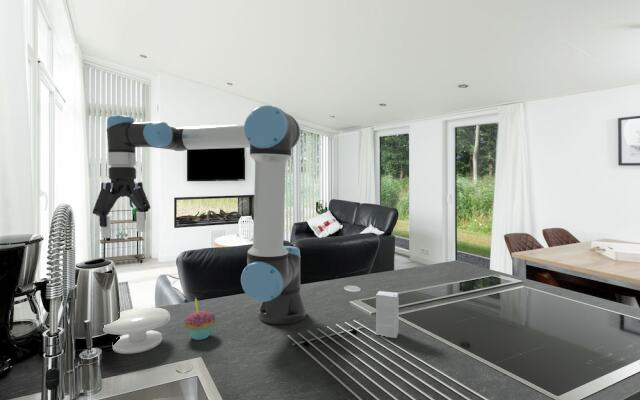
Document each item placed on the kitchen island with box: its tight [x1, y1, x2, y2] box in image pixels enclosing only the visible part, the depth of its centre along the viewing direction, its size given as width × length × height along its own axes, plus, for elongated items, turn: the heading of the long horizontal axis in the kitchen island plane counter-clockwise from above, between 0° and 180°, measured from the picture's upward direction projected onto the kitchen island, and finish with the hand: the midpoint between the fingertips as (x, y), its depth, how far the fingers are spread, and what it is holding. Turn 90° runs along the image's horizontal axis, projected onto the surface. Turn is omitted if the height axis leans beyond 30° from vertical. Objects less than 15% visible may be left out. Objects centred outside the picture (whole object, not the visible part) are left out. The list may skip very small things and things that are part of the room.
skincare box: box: [375, 290, 400, 339], centre depth 107 cm, size 6×4×12 cm
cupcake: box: [184, 296, 216, 341], centre depth 105 cm, size 9×8×12 cm
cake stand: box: [102, 306, 171, 355], centre depth 101 cm, size 17×17×7 cm
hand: (124, 234), depth 117 cm, fingers open, 13 cm apart
